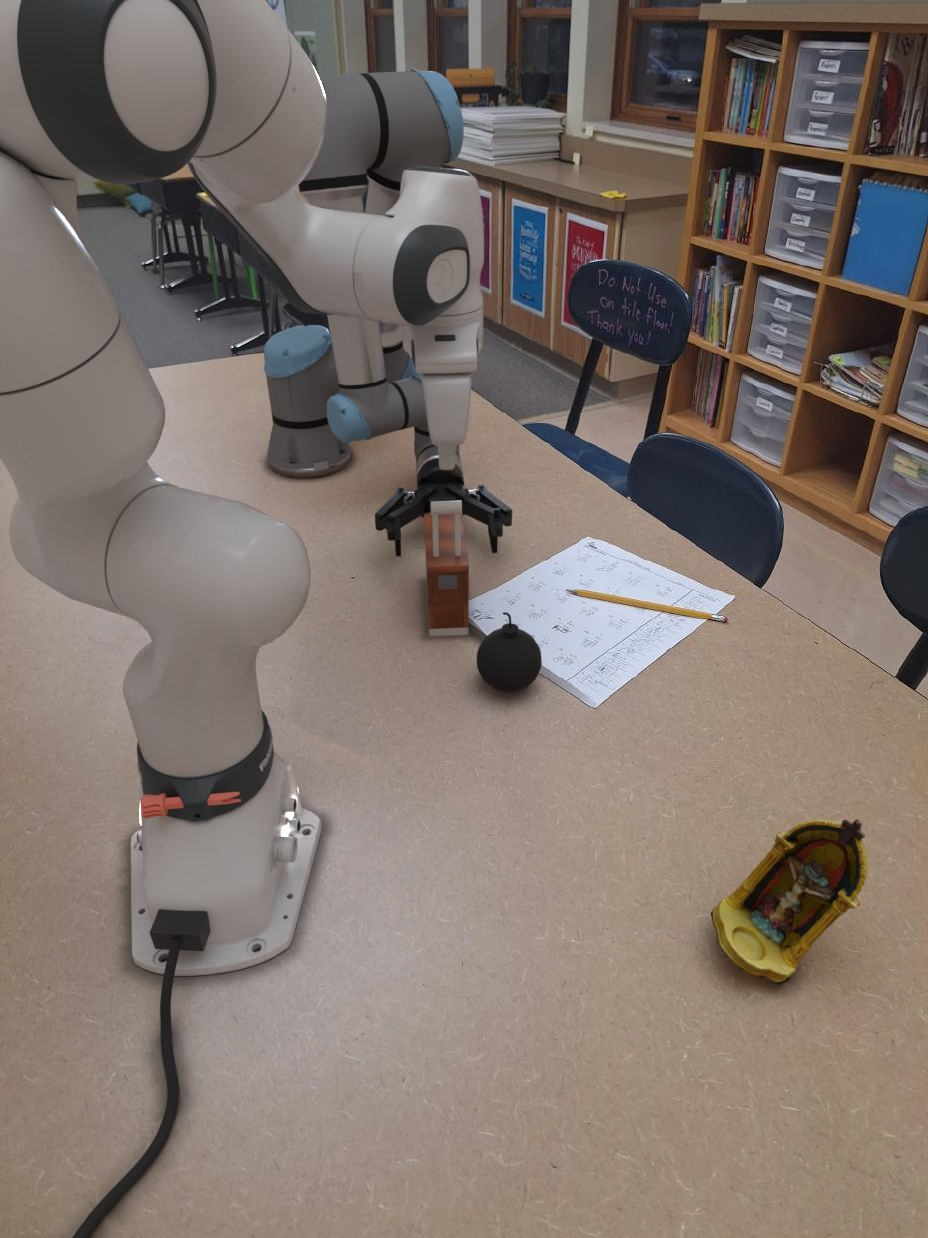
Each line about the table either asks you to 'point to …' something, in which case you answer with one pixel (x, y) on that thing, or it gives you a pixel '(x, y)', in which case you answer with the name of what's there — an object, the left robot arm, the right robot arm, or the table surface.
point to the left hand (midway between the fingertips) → (444, 449)
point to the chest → (448, 602)
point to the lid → (445, 538)
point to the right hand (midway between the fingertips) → (446, 546)
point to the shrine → (792, 897)
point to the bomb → (509, 658)
